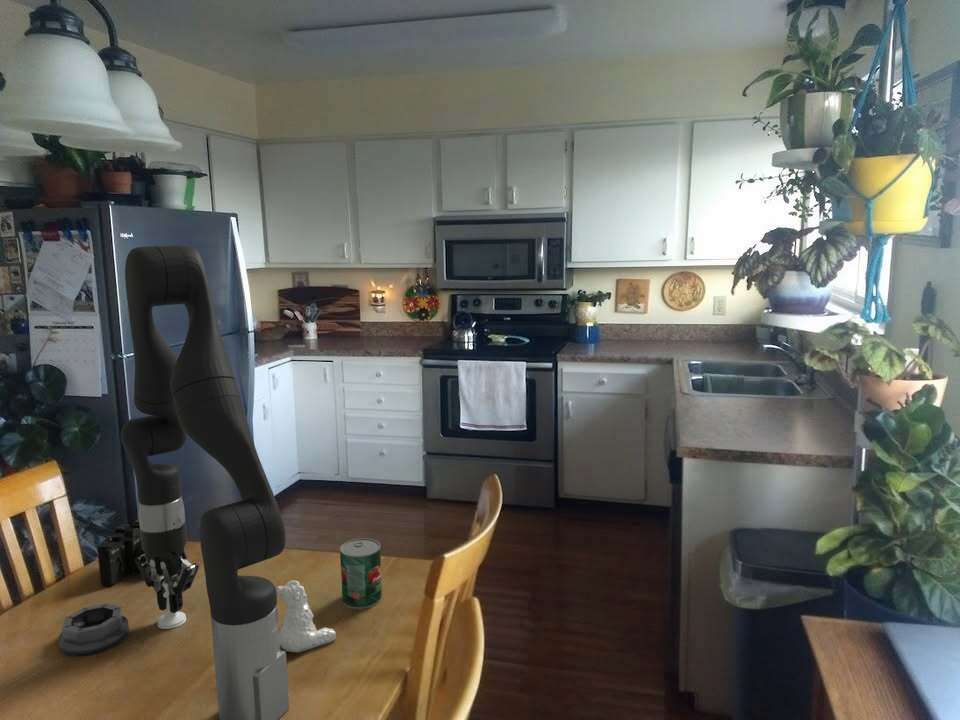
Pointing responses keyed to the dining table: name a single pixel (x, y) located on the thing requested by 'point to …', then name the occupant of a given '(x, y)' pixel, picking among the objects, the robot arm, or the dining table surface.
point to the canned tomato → (361, 573)
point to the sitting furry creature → (300, 621)
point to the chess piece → (170, 614)
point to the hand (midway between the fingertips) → (170, 609)
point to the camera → (120, 554)
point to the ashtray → (93, 630)
